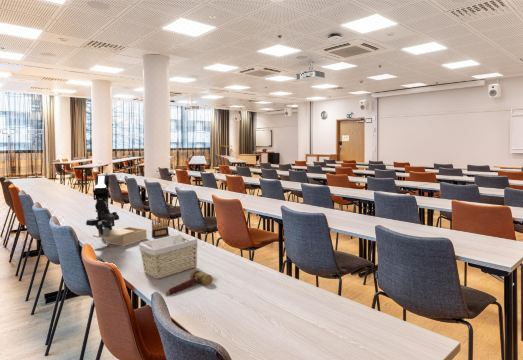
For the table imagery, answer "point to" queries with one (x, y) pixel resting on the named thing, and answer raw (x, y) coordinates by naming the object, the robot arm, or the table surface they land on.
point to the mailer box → (129, 237)
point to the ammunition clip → (159, 228)
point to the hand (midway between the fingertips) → (104, 234)
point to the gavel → (192, 281)
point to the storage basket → (169, 255)
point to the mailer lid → (113, 233)
